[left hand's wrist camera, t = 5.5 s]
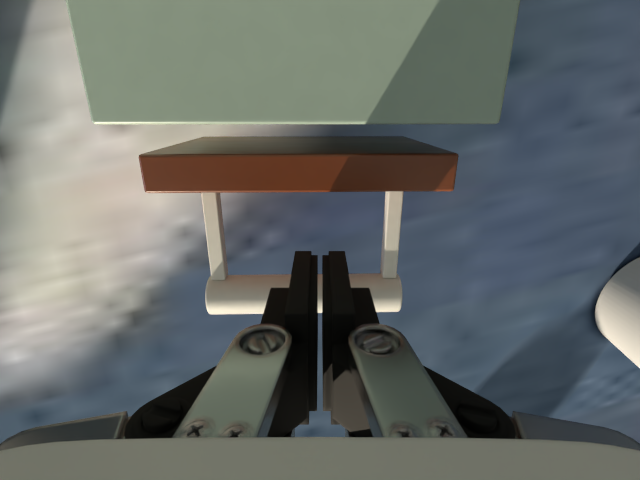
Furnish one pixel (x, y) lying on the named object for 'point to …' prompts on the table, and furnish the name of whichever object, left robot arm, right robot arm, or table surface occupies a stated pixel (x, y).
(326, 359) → the left robot arm
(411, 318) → the table surface
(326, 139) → the drawer
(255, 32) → the cabinet
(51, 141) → the table surface
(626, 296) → the coffee cup
